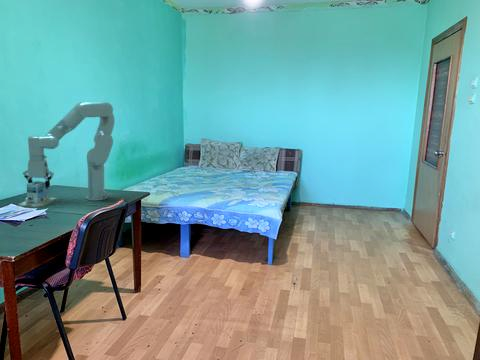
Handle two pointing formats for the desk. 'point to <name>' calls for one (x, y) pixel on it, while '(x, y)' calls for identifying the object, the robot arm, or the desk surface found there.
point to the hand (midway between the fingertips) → (39, 187)
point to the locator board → (40, 204)
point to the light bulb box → (37, 191)
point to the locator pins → (28, 201)
